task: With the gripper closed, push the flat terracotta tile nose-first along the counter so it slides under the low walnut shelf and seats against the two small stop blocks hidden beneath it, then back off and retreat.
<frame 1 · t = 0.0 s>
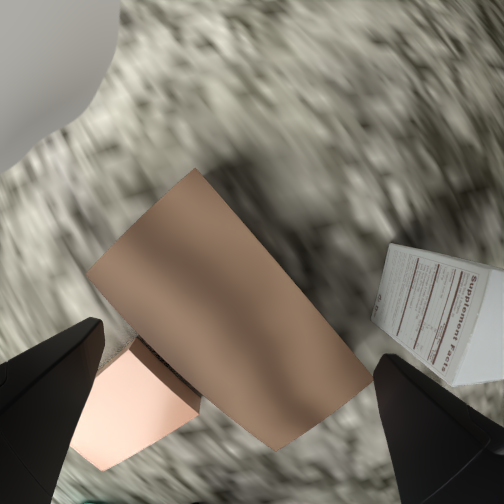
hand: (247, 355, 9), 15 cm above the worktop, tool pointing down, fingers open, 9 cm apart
shelf: (237, 313, 25), on the worktop
supplement box: (408, 286, 26), on the worktop
tile: (119, 405, 26), on the worktop
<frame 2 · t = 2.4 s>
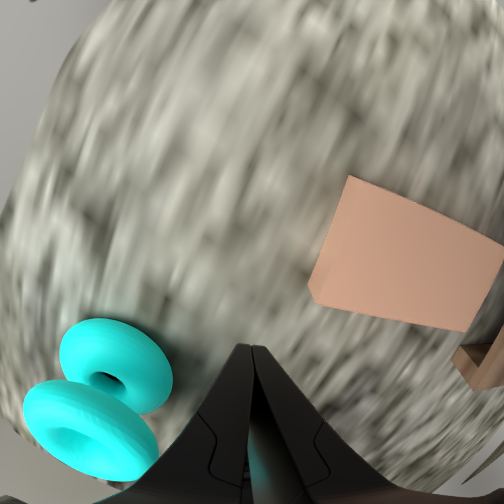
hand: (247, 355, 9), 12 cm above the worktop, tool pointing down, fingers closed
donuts: (119, 358, 24), on the worktop
tile: (411, 256, 21), on the worktop
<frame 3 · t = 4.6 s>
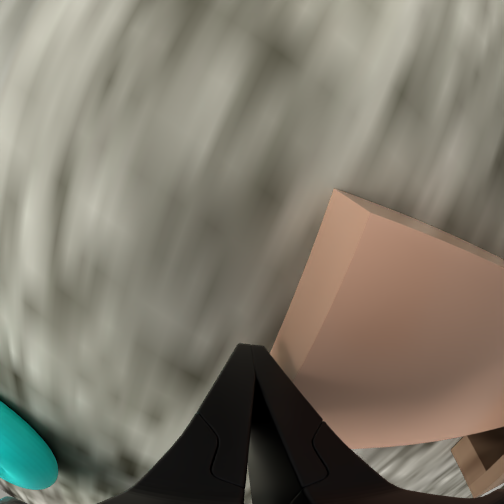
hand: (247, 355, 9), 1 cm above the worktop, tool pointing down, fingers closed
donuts: (4, 423, 13), on the worktop
tile: (444, 333, 11), on the worktop
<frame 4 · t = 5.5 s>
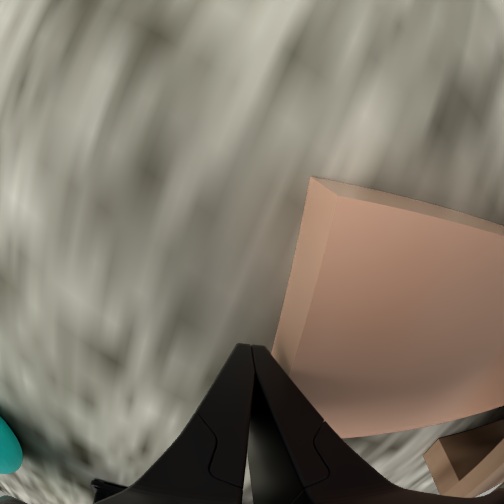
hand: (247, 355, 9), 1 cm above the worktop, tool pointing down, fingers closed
tile: (451, 308, 11), on the worktop, touching gripper
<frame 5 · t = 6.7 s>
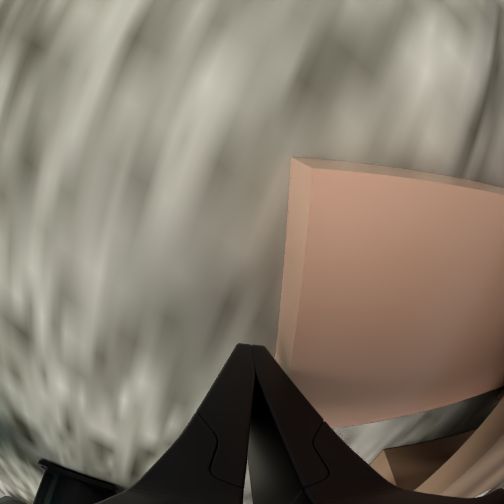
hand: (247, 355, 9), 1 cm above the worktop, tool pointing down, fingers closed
tile: (460, 279, 10), on the worktop
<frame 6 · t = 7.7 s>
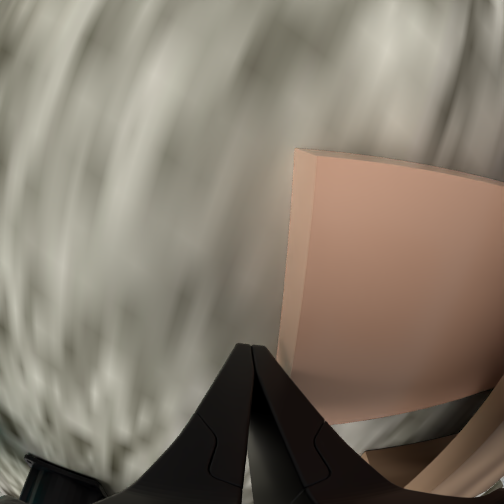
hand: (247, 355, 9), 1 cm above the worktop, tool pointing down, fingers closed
shelf: (500, 341, 11), on the worktop
tile: (463, 274, 10), on the worktop
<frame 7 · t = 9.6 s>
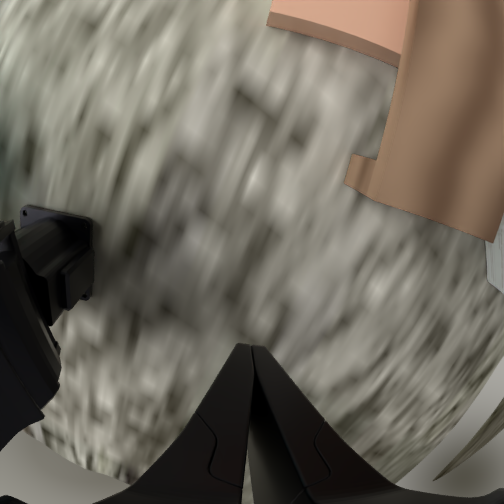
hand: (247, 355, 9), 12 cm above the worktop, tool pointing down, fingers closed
shelf: (437, 74, 16), on the worktop
tile: (383, 14, 15), on the worktop
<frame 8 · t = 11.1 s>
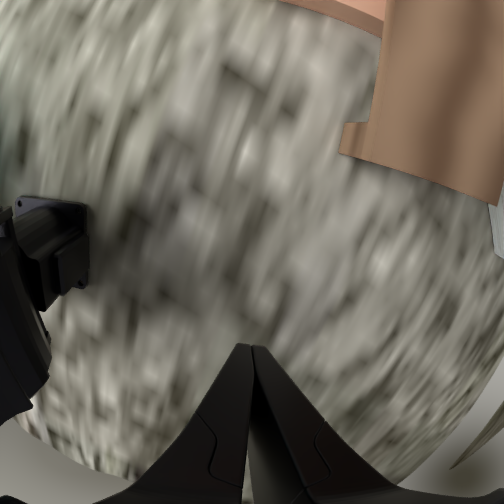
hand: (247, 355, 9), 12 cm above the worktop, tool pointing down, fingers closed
shelf: (425, 42, 15), on the worktop
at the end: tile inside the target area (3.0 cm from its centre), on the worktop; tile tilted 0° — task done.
